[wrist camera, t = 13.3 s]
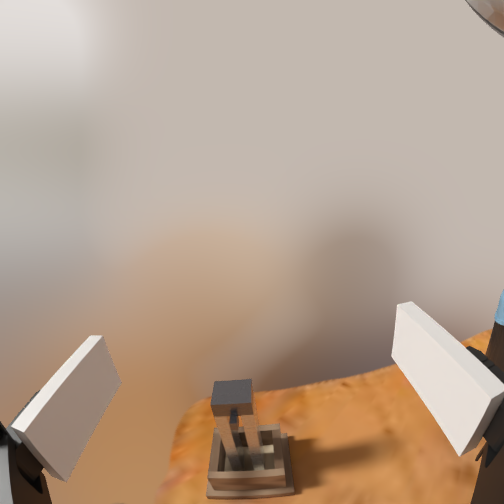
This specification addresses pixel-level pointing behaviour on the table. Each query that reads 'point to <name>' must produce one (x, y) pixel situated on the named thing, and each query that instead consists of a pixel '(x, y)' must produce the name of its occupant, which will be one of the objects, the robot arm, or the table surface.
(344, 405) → the table surface
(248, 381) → the steel tongs
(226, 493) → the box
